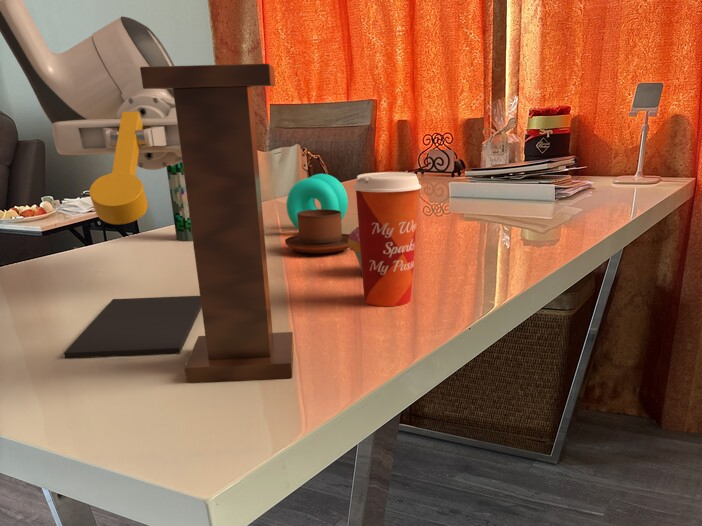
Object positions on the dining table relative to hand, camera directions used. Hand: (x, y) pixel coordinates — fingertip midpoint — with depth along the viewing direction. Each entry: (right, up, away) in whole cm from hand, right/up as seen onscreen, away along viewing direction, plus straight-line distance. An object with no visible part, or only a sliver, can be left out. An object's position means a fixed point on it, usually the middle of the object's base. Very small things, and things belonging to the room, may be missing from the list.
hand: (127, 139), depth 82 cm
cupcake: (+29, -8, +24) cm, 39 cm away
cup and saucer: (+20, 0, +40) cm, 44 cm away
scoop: (0, -4, -1) cm, 4 cm away
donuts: (+19, +9, +56) cm, 60 cm away
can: (-5, +7, +53) cm, 54 cm away
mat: (+1, -21, +3) cm, 21 cm away
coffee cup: (+30, -16, +10) cm, 36 cm away
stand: (+15, -27, -10) cm, 33 cm away
